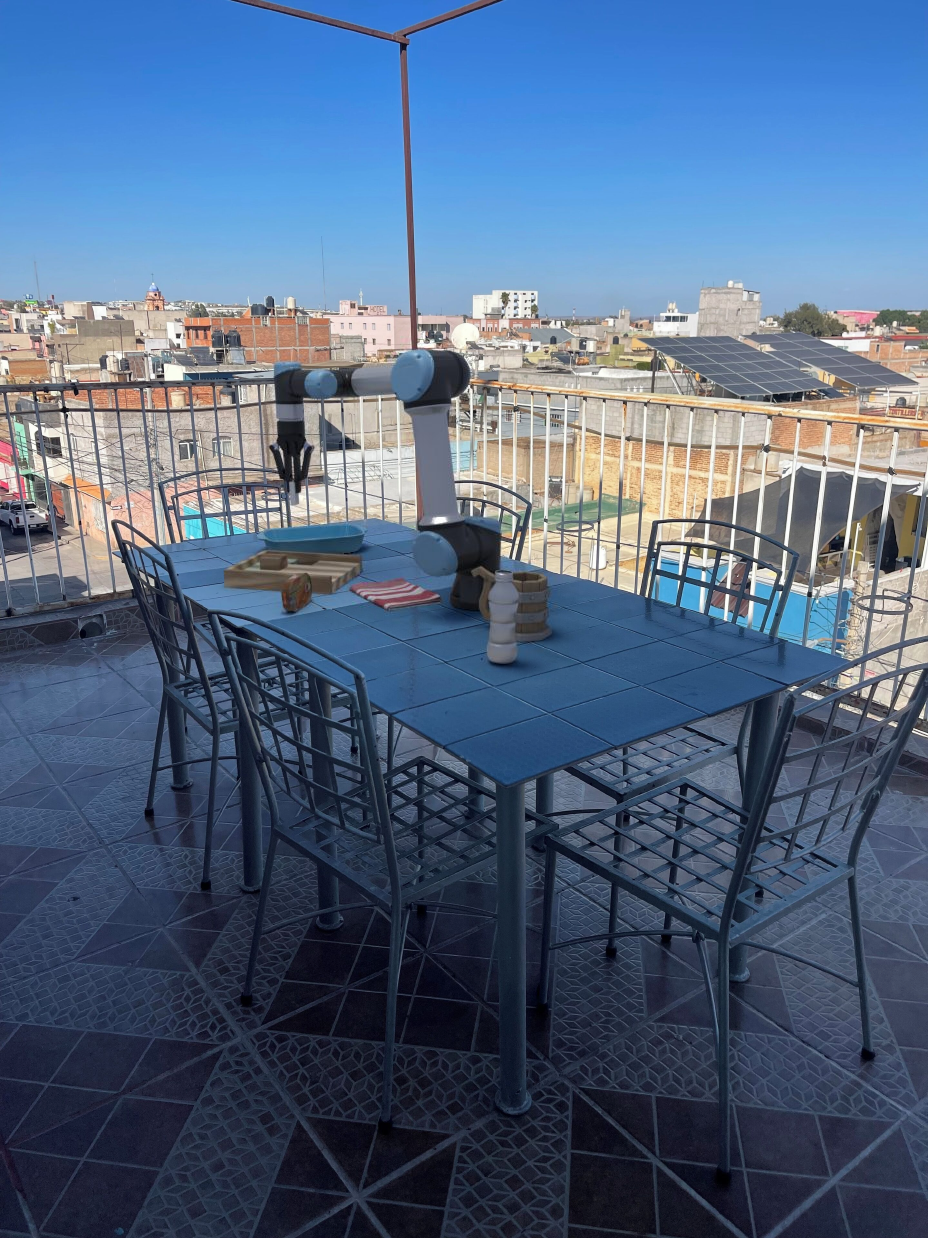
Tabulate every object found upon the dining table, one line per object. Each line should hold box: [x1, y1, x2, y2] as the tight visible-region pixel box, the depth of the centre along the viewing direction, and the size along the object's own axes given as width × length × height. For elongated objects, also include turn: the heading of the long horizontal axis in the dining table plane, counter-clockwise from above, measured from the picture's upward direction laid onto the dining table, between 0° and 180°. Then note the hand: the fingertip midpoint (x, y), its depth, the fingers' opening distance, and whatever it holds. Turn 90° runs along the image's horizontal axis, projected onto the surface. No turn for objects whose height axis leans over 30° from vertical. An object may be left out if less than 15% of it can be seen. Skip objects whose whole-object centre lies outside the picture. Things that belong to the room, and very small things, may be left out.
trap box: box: [223, 549, 363, 595], centre depth 248 cm, size 27×32×5 cm
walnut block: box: [259, 554, 288, 571], centre depth 249 cm, size 6×6×4 cm
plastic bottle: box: [486, 569, 519, 665], centre depth 180 cm, size 6×7×20 cm
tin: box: [280, 573, 313, 613], centre depth 220 cm, size 15×3×8 cm, turn 168°
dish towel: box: [349, 577, 442, 612], centre depth 232 cm, size 17×23×3 cm
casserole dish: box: [256, 523, 369, 554], centre depth 284 cm, size 37×22×7 cm, turn 112°
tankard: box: [471, 566, 553, 643], centre depth 202 cm, size 20×13×15 cm, turn 59°
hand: (294, 504), depth 242 cm, fingers closed
